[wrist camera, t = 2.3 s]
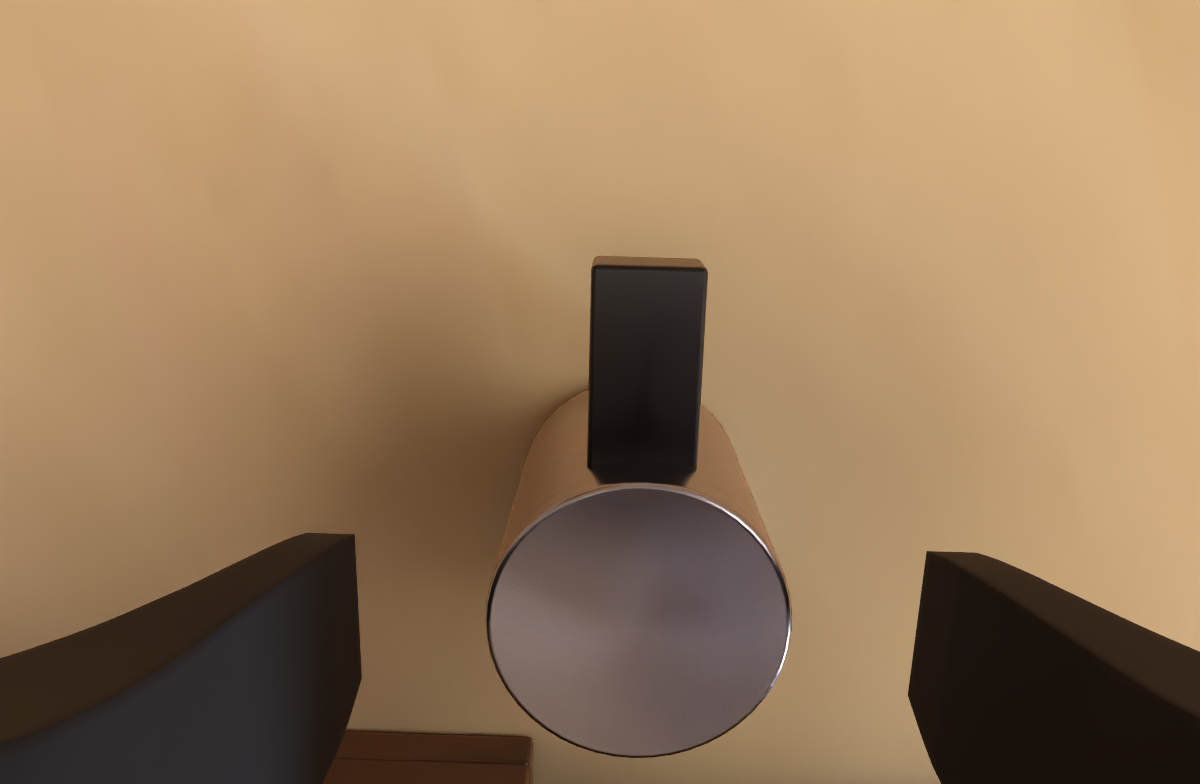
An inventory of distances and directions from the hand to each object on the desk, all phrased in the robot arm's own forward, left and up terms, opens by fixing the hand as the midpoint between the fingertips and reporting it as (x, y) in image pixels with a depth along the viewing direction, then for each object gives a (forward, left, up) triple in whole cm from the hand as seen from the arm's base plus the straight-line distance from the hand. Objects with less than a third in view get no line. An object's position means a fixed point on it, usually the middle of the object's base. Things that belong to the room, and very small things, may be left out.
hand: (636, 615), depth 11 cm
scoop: (0, -1, -5) cm, 5 cm away
